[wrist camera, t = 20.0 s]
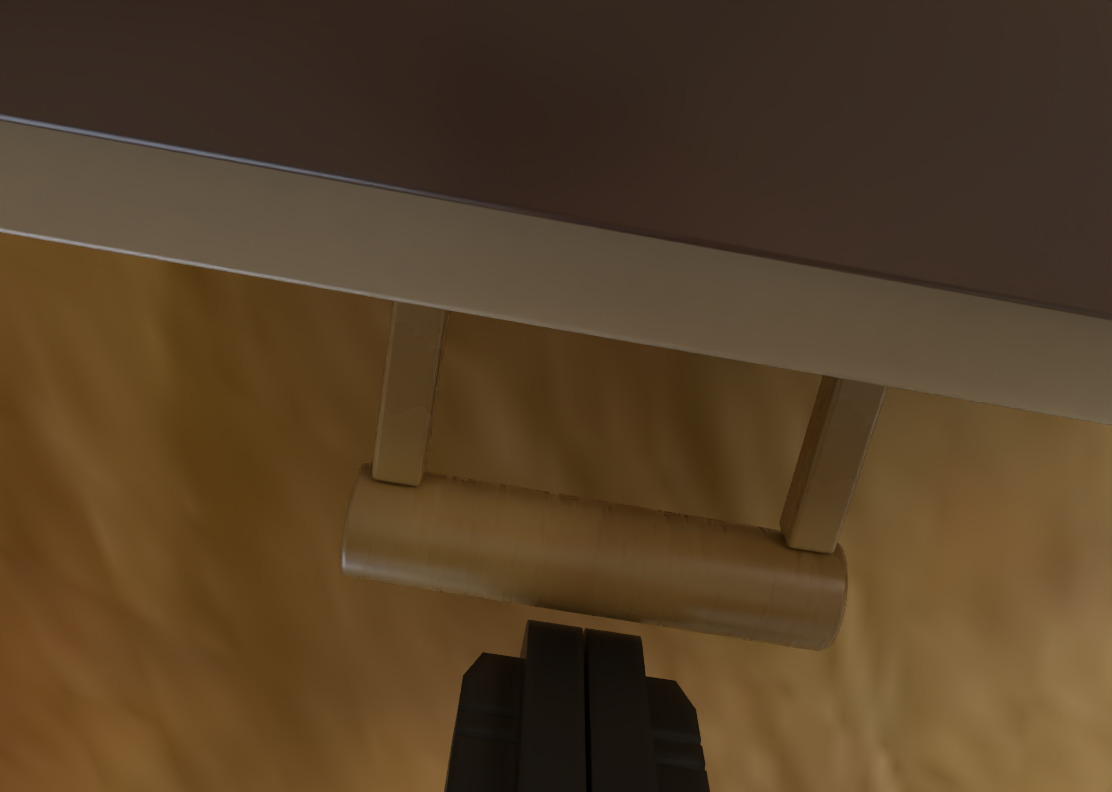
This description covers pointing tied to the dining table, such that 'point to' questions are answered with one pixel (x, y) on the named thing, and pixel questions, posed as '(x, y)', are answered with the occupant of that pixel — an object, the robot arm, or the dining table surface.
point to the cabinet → (639, 117)
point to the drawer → (583, 307)
